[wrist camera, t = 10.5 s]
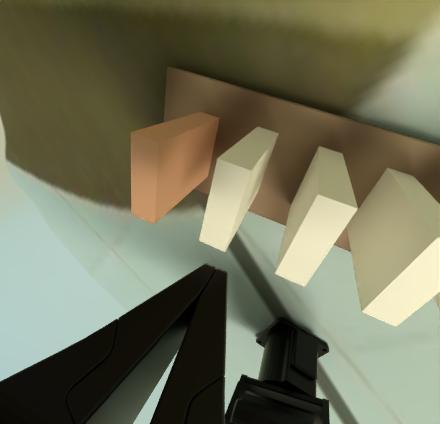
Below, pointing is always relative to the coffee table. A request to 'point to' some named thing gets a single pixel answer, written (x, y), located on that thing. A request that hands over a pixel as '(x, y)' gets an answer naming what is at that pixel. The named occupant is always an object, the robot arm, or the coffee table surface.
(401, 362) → the coffee table surface
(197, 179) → the terracotta domino
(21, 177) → the coffee table surface
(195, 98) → the walnut board
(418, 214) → the ivory domino
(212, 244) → the ivory domino
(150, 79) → the coffee table surface
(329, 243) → the ivory domino
